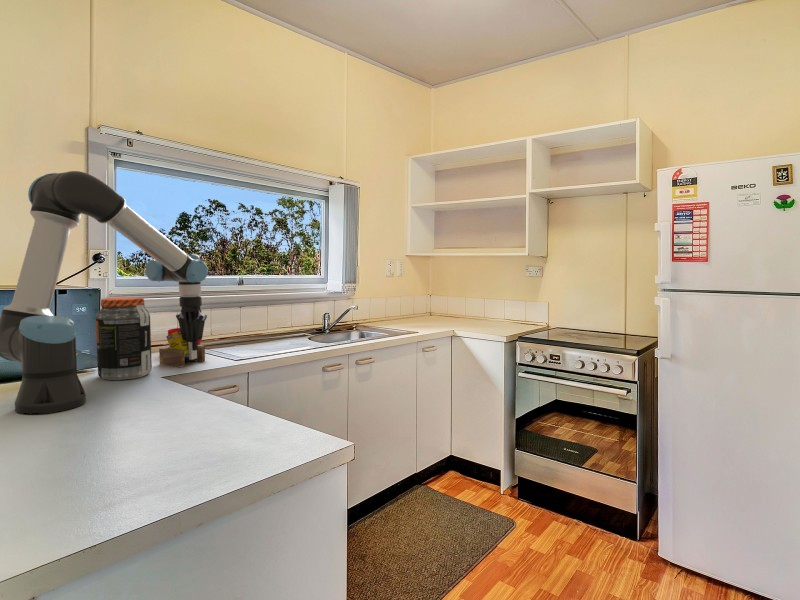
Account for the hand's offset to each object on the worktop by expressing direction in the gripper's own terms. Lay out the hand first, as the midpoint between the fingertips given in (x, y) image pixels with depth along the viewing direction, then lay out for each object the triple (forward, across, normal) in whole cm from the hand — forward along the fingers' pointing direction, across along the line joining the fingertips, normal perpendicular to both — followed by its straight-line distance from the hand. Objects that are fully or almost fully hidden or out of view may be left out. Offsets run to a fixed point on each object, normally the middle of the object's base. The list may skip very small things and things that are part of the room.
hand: (193, 358), depth 181 cm
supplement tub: (+2, +6, +24) cm, 24 cm away
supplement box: (+1, +3, 0) cm, 3 cm away
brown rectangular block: (+2, +5, 0) cm, 5 cm away
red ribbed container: (+2, +18, -12) cm, 21 cm away
